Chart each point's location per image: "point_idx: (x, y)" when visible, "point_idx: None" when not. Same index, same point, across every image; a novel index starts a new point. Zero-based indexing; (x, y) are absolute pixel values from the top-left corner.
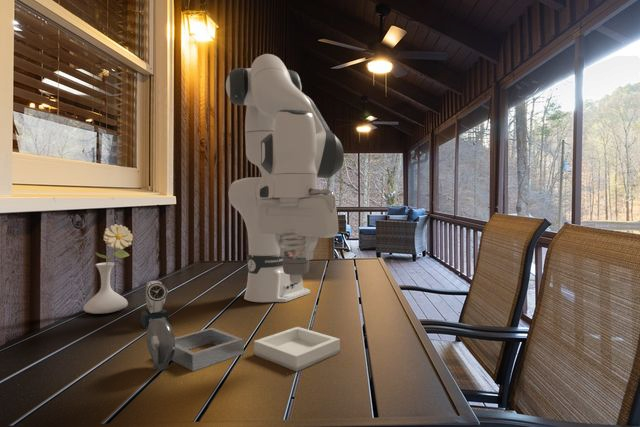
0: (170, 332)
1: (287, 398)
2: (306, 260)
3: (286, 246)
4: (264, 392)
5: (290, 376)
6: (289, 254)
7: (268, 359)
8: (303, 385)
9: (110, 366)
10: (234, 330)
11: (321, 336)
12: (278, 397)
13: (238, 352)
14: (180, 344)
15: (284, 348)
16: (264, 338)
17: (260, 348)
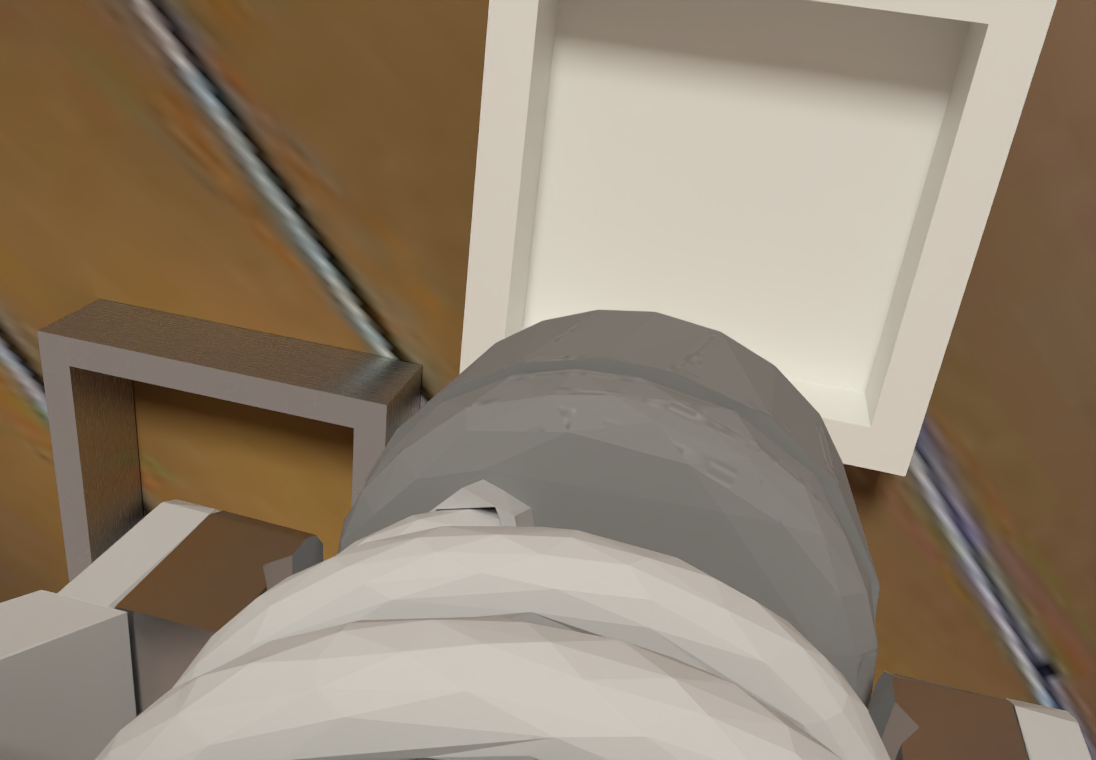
0: None
1: (1024, 685)
2: (873, 665)
3: (101, 653)
4: (877, 679)
5: (896, 493)
6: (305, 565)
7: None
8: (1033, 550)
9: None
10: (7, 52)
11: (854, 4)
12: (974, 692)
13: (413, 409)
14: (114, 532)
15: (611, 203)
16: (481, 310)
17: None
